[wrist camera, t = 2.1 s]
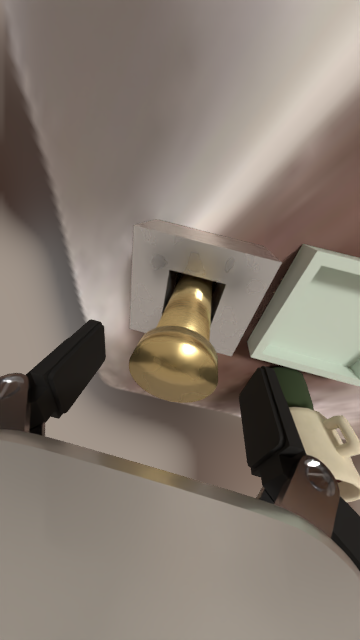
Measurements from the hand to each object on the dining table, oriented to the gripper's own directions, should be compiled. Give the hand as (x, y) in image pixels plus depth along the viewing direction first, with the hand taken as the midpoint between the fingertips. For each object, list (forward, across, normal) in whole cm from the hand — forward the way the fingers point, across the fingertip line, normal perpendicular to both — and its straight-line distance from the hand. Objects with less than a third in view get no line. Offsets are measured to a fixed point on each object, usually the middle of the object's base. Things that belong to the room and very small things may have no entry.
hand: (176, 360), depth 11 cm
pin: (+13, 0, -1) cm, 13 cm away
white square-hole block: (+13, 0, -1) cm, 13 cm away
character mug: (+13, -16, +11) cm, 24 cm away
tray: (+13, -16, 0) cm, 20 cm away
